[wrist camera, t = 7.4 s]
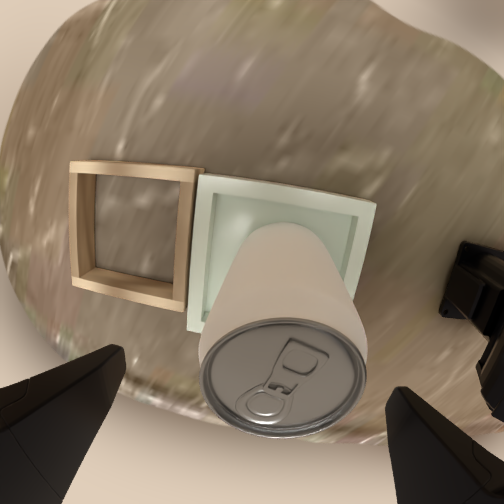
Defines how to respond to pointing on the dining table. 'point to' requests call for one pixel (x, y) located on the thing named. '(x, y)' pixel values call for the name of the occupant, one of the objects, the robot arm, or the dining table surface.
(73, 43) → the dining table surface
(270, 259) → the can
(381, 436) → the dining table surface
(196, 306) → the tray
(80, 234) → the collar
